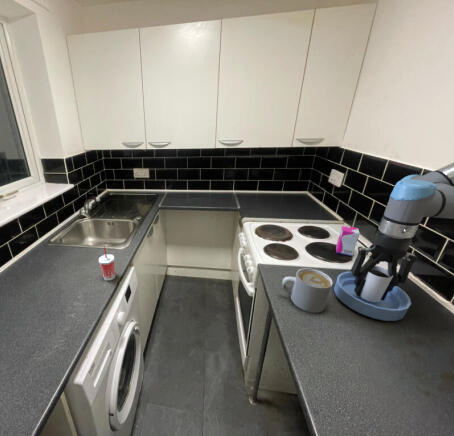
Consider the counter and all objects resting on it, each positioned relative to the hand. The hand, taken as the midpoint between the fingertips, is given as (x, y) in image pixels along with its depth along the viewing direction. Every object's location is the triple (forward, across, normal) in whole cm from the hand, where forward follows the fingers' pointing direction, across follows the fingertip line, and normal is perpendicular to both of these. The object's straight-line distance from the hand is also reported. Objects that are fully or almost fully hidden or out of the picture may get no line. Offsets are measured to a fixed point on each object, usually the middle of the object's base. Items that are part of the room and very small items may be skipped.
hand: (368, 295), depth 76 cm
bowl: (+2, 0, 0) cm, 2 cm away
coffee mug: (+2, -20, -6) cm, 21 cm away
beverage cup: (+3, -91, -16) cm, 92 cm away
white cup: (0, 0, 0) cm, 0 cm away
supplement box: (+2, +2, +32) cm, 32 cm away
